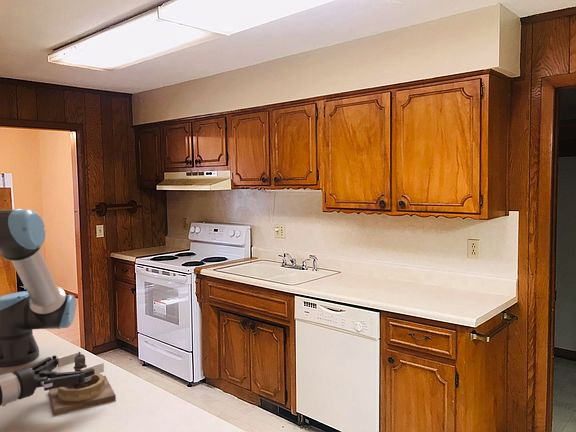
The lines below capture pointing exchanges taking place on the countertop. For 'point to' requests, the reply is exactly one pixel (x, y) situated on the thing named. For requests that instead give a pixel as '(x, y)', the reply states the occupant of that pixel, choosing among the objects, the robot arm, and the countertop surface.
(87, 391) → the collar stand
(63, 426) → the countertop surface
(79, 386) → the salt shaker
